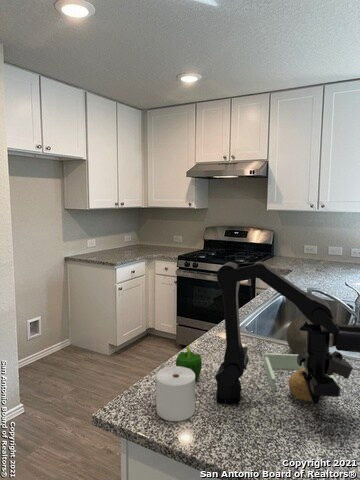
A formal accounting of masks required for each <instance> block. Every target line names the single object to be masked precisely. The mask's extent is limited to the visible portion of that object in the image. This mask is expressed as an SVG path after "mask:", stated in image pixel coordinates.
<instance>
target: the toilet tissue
mask: <svg viewBox="0 0 360 480" xmlns="http://www.w3.org/2000/svg"><path fill="white" fill-rule="evenodd" d="M155 380H156V381H155V382H156V383H155V393H156V395H155V398H156V403H155V407H156V408H155V409H156V413H157V415H158V416H159V417H160V418H161V419H164V420H165V421H169V422H182V421H183V422H184V421H186V420H188V419H190V418H191V417H192V416H193V415H194V414H195V411H196V381H195V373H194V372H193V371H192V370H191V369H189V368H185V367H180V366H176V365H175V366H172V365H171V366H167V367H165V363H164V362H163V363H162V364H161V365H160V366H159V367H158V369H157V371H156V377H155Z"/></svg>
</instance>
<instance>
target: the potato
mask: <svg viewBox="0 0 360 480" xmlns="http://www.w3.org/2000/svg"><path fill="white" fill-rule="evenodd" d="M302 372H305V368H302V369H300V370H296V372H294V373H293V374H292V375H290V377H289V379H288V382H287V383H288V388H289V391H290V392H291V394H292V395H293V396H294V397H295V398H297V399H298V400H301V401H305V402H311V401H312V398H311V396H310V393H309V390H308V388H307V385H306V382H305V380H304V377H303V375H302ZM312 402H313V401H312Z"/></svg>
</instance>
